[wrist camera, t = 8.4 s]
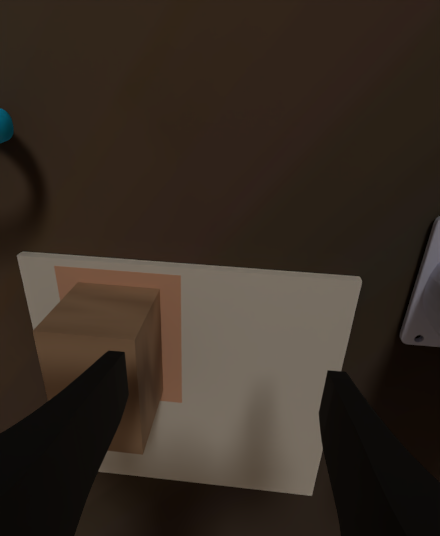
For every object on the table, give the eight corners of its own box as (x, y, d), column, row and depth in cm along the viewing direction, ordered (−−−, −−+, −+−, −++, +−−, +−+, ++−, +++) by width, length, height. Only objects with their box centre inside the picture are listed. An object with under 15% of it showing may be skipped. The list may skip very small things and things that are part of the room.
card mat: (359, 276, 21) (362, 281, 21) (310, 488, 29) (311, 496, 29) (22, 251, 22) (16, 255, 22) (67, 461, 31) (63, 468, 30)
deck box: (163, 390, 25) (142, 454, 21) (92, 383, 26) (57, 445, 21) (159, 288, 22) (134, 340, 17) (77, 281, 22) (32, 330, 18)
